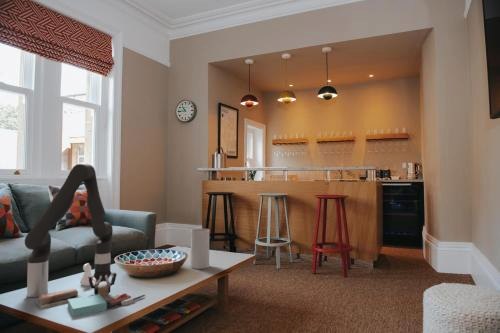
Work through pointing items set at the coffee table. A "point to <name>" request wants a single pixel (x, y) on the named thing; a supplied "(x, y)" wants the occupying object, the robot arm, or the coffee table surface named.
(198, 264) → the cylinder vase
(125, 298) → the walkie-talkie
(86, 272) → the sitting furry creature
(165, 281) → the coffee table surface
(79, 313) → the teal base block
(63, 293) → the packaged product
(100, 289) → the walnut block
